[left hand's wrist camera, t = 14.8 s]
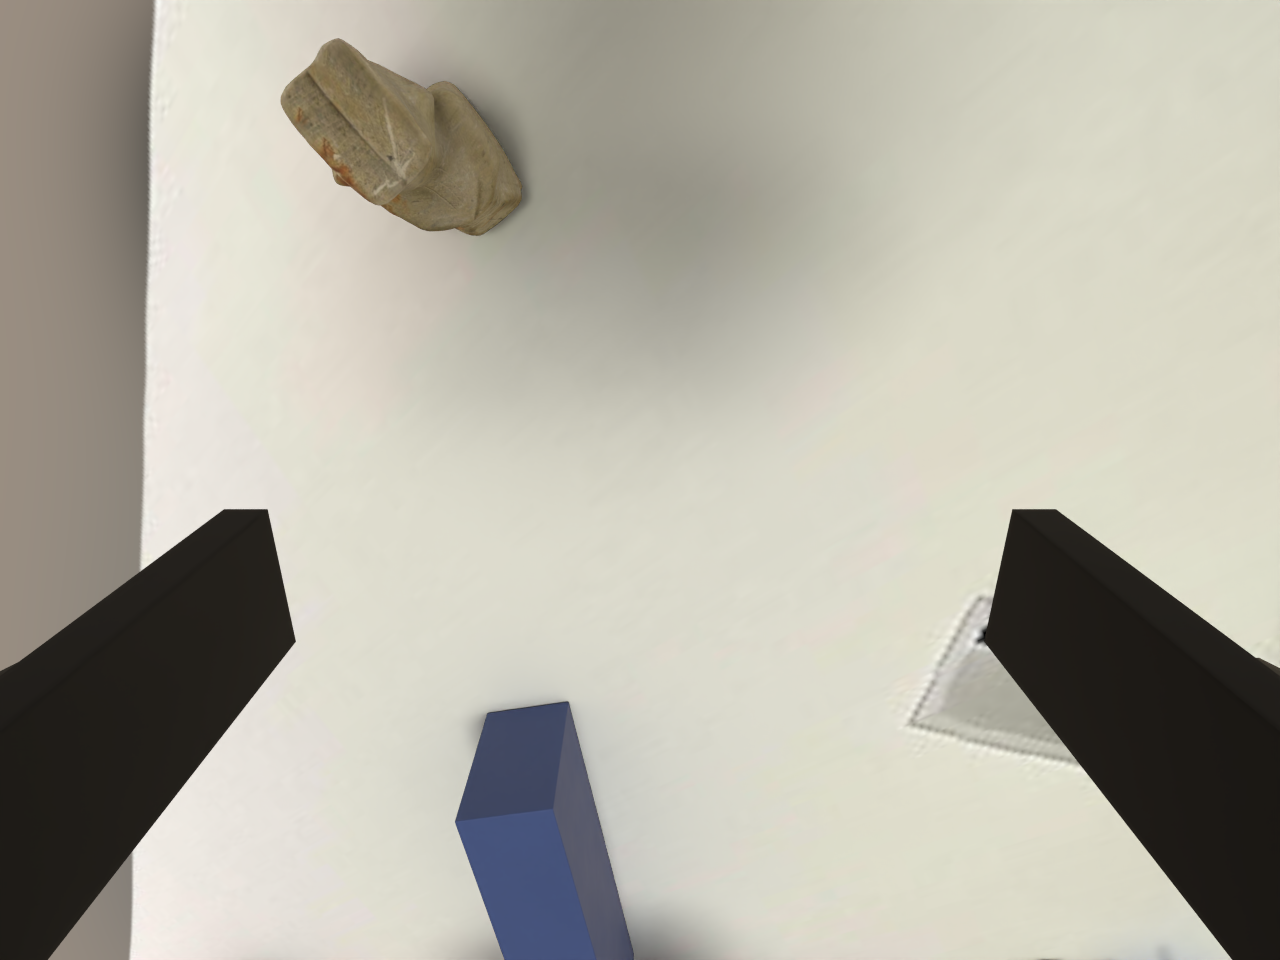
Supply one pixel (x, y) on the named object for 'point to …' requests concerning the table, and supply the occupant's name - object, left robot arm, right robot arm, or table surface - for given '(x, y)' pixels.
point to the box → (540, 841)
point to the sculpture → (402, 142)
